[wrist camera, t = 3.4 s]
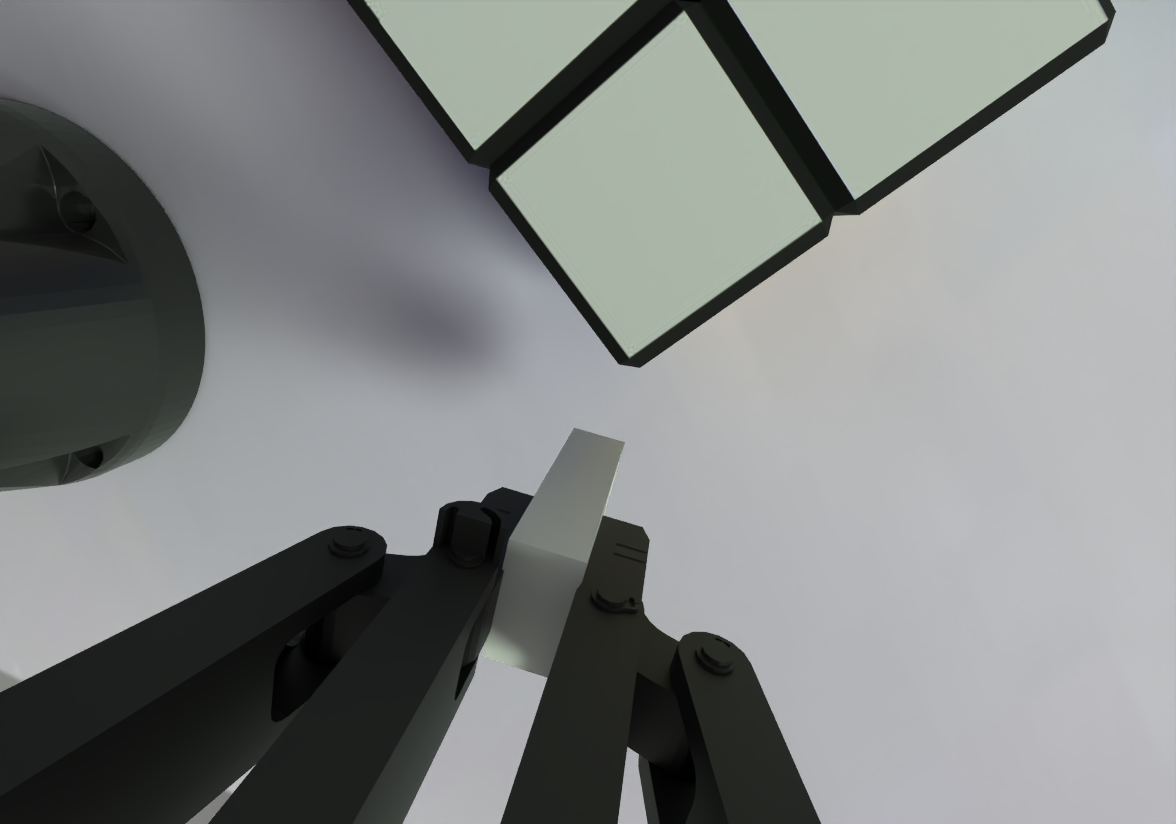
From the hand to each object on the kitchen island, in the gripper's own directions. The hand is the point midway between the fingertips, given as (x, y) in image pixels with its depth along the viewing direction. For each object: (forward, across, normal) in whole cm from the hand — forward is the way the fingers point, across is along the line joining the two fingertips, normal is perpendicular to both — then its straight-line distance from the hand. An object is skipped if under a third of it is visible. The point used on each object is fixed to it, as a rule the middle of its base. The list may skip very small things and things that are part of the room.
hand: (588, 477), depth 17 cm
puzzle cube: (+6, 0, +11) cm, 13 cm away
